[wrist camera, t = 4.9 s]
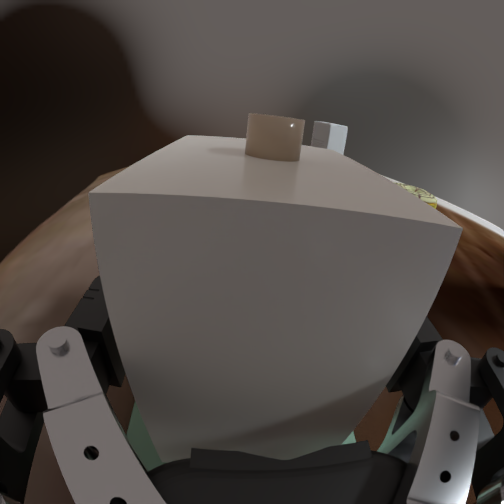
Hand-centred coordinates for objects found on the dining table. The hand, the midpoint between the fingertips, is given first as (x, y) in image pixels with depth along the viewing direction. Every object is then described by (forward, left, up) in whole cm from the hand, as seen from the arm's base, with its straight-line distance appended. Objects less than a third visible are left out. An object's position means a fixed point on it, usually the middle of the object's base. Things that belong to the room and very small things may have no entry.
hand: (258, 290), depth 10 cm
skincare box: (-47, -18, -7) cm, 51 cm away
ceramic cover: (0, 0, -6) cm, 6 cm away
